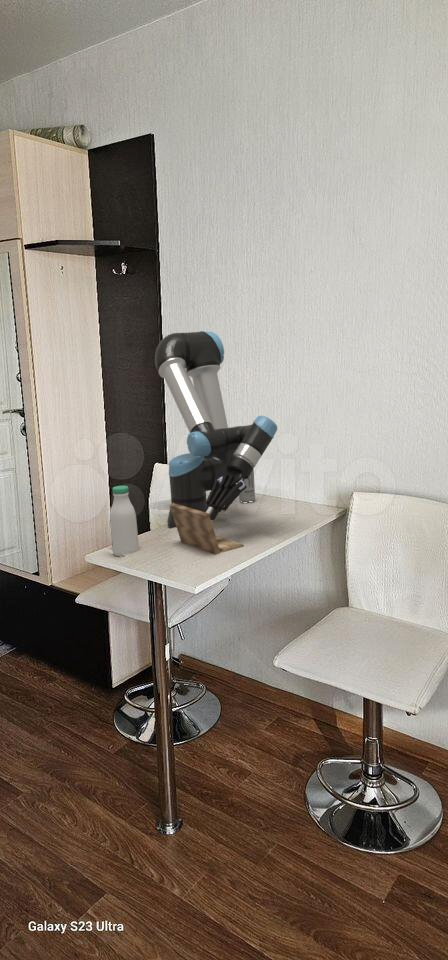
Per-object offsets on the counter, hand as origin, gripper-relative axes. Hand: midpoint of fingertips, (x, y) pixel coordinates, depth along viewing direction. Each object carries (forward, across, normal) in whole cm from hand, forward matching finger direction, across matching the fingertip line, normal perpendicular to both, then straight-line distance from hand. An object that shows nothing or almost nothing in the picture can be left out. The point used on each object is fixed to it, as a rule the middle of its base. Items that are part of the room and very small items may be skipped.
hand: (202, 527), depth 203 cm
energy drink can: (-28, +37, -38) cm, 60 cm away
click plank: (+5, +1, -4) cm, 6 cm away
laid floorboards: (+2, +1, -8) cm, 8 cm away
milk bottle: (+17, +15, +8) cm, 24 cm away
